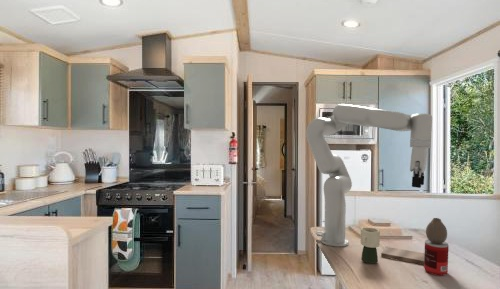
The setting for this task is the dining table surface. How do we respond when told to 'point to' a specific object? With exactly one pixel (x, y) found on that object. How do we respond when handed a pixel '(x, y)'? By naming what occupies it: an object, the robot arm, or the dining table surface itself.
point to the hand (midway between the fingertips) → (417, 185)
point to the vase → (436, 231)
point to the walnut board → (403, 255)
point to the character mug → (370, 244)
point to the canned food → (436, 258)
